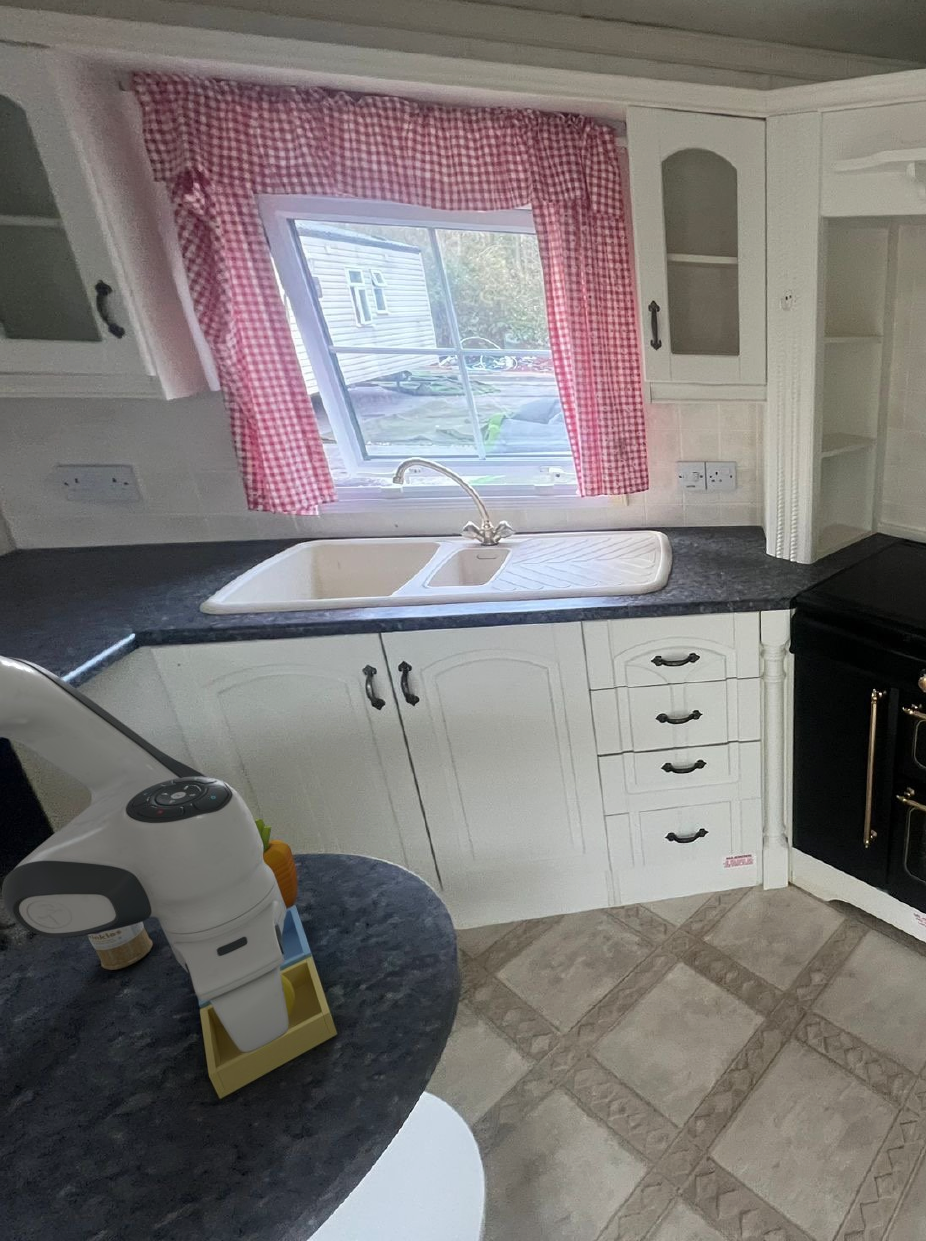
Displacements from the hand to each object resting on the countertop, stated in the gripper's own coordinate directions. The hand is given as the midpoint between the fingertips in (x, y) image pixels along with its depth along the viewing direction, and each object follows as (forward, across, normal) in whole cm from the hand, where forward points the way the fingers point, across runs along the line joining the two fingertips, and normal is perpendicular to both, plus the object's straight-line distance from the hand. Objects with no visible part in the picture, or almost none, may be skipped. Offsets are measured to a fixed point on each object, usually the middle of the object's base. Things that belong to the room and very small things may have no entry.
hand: (266, 1012), depth 76 cm
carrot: (+3, -19, +4) cm, 20 cm away
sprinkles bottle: (+3, -24, -11) cm, 27 cm away
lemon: (+3, 0, 0) cm, 3 cm away
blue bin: (+3, -11, 0) cm, 11 cm away
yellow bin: (+3, 0, 0) cm, 3 cm away
